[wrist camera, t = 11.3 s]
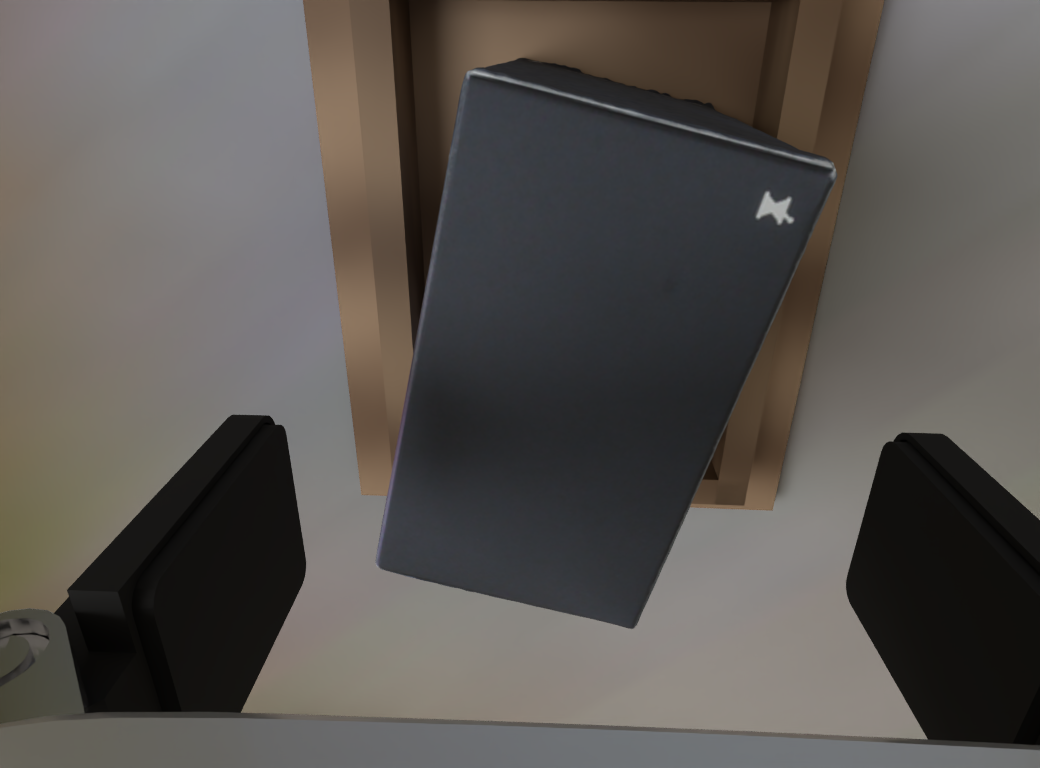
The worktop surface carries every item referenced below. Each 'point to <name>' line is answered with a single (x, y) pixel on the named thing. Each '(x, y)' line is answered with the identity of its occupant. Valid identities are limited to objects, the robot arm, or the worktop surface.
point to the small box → (585, 333)
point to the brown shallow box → (596, 51)
